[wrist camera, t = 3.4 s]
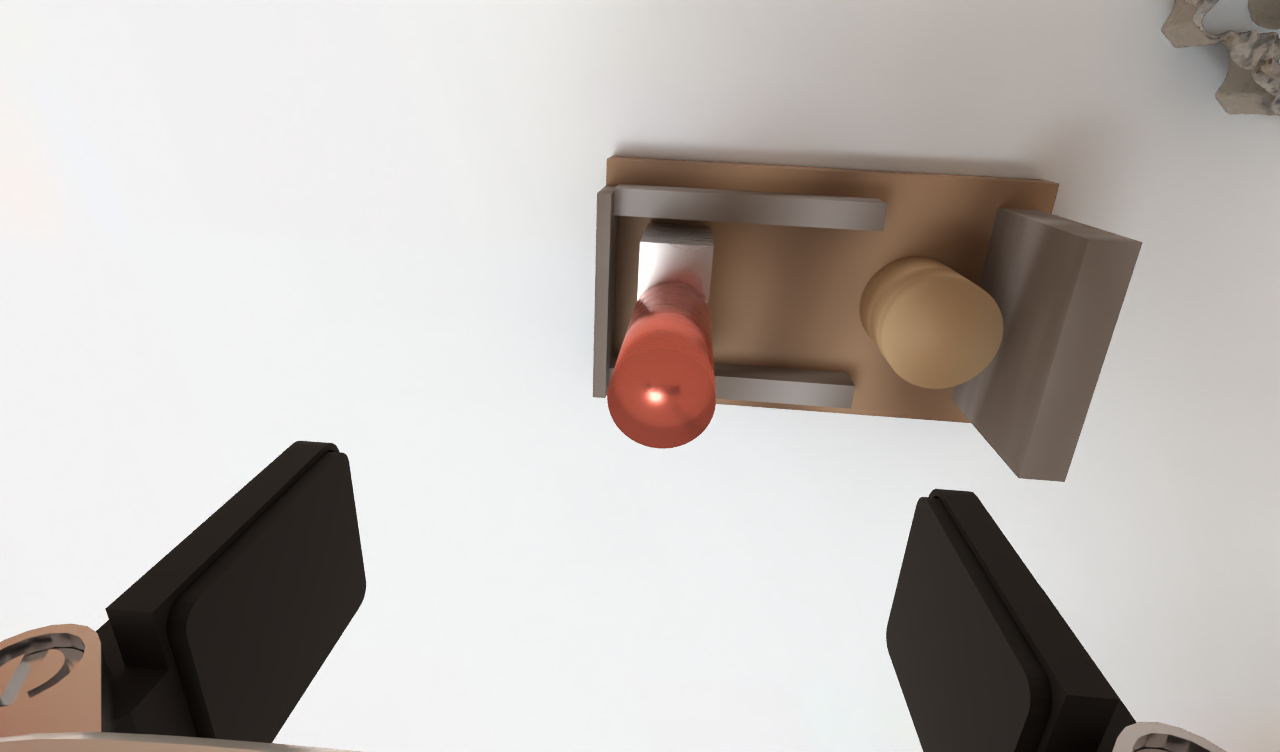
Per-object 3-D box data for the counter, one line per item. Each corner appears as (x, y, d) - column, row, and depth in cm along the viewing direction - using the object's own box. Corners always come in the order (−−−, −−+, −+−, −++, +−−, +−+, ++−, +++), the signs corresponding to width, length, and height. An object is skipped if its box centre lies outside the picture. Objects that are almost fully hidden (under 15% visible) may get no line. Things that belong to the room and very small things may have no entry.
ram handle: (715, 226, 27) (725, 302, 16) (704, 355, 29) (706, 494, 18) (644, 222, 27) (610, 294, 16) (638, 351, 29) (604, 486, 19)
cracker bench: (1040, 179, 27) (1172, 208, 19) (980, 410, 30) (1071, 508, 23) (611, 156, 28) (579, 175, 20) (605, 382, 31) (575, 467, 24)
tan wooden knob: (971, 259, 26) (1016, 284, 23) (949, 354, 28) (988, 392, 24) (868, 252, 27) (895, 276, 23) (851, 347, 28) (874, 384, 24)
